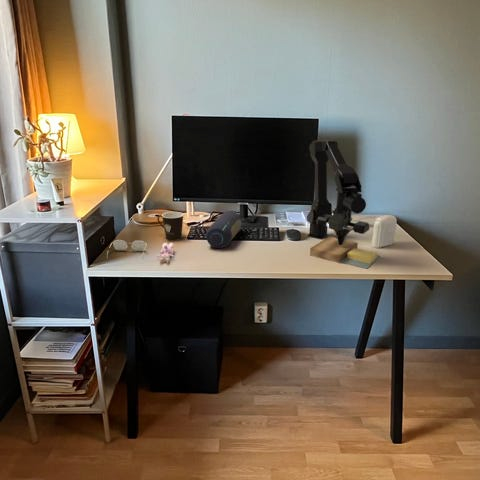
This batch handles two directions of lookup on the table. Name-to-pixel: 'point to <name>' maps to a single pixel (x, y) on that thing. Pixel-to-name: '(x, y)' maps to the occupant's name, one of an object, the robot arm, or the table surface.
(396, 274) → the table surface
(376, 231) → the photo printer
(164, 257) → the rabbit figure
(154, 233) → the table surface
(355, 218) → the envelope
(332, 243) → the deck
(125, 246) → the sunglasses
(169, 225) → the coffee mug
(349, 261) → the mat
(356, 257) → the pale yellow foam brick
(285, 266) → the table surface
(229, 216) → the portable speaker
